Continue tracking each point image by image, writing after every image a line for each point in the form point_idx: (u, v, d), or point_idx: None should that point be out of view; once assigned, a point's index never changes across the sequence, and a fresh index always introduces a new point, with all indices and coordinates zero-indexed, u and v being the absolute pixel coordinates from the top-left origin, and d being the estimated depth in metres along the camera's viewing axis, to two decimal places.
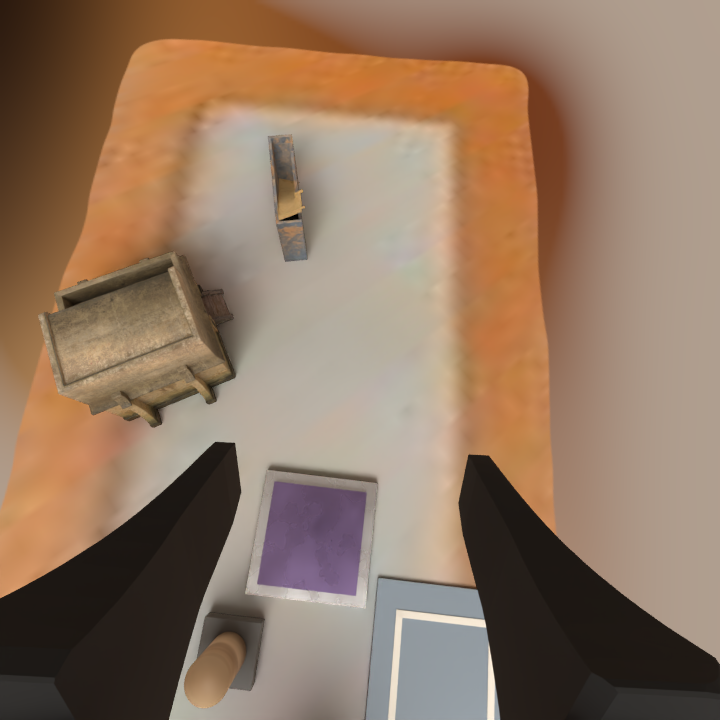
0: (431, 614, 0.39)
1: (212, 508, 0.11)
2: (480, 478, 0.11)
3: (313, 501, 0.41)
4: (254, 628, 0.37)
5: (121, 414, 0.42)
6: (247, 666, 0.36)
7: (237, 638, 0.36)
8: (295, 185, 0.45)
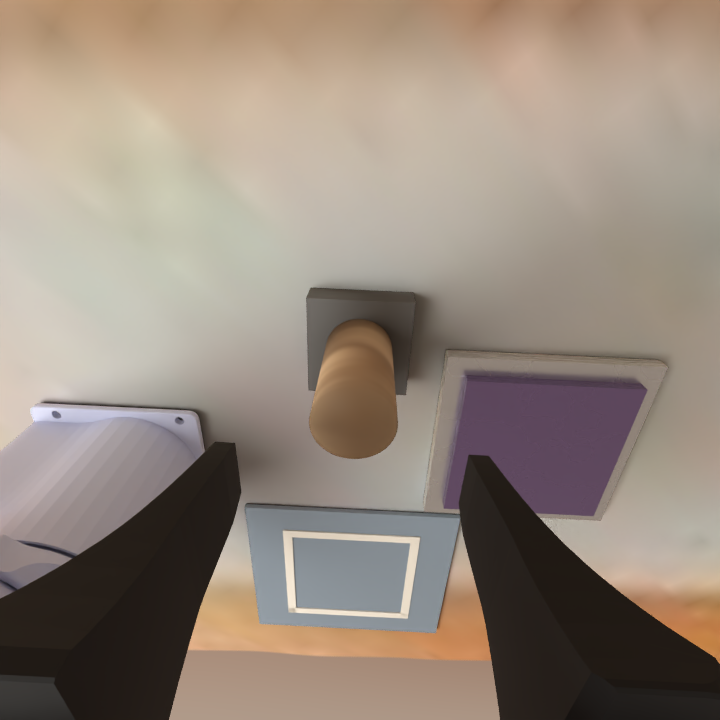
0: (414, 567, 0.30)
1: (212, 507, 0.11)
2: (480, 478, 0.11)
3: (596, 450, 0.23)
4: (398, 385, 0.22)
5: None
6: None
7: None
8: None
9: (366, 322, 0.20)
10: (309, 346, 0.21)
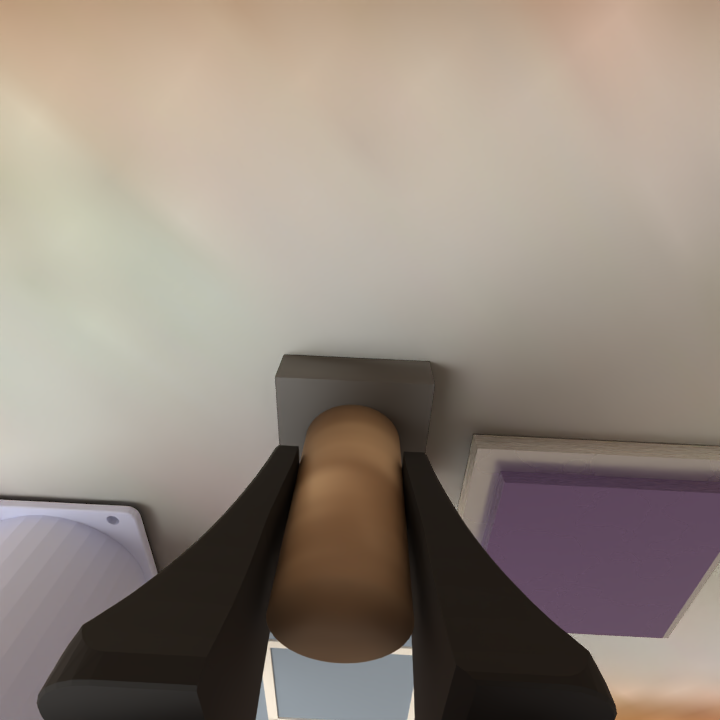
0: None
1: (284, 511, 0.11)
2: (408, 475, 0.11)
3: (674, 565, 0.17)
4: None
5: None
6: None
7: None
8: None
9: (362, 411, 0.13)
10: (282, 439, 0.14)
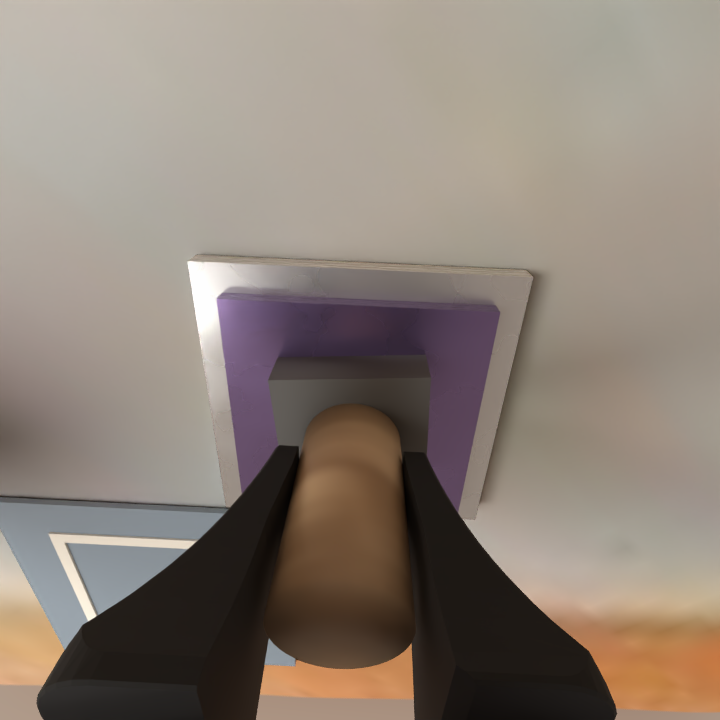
0: None
1: (284, 512, 0.11)
2: (408, 474, 0.11)
3: (440, 413, 0.15)
4: None
5: None
6: None
7: None
8: None
9: (359, 409, 0.13)
10: (280, 443, 0.14)
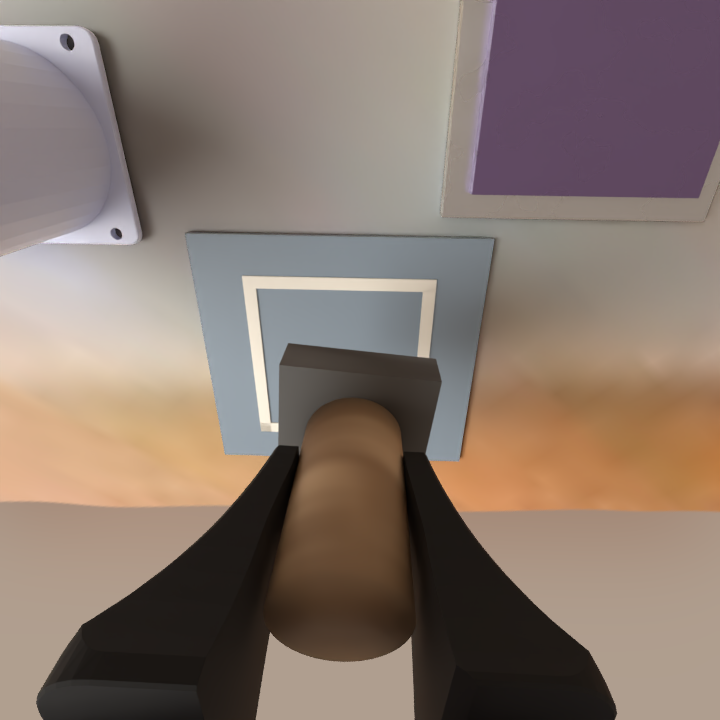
0: (429, 341, 0.22)
1: (284, 511, 0.11)
2: (408, 474, 0.11)
3: (715, 43, 0.15)
4: None
5: None
6: None
7: None
8: None
9: (367, 405, 0.13)
10: (281, 429, 0.14)
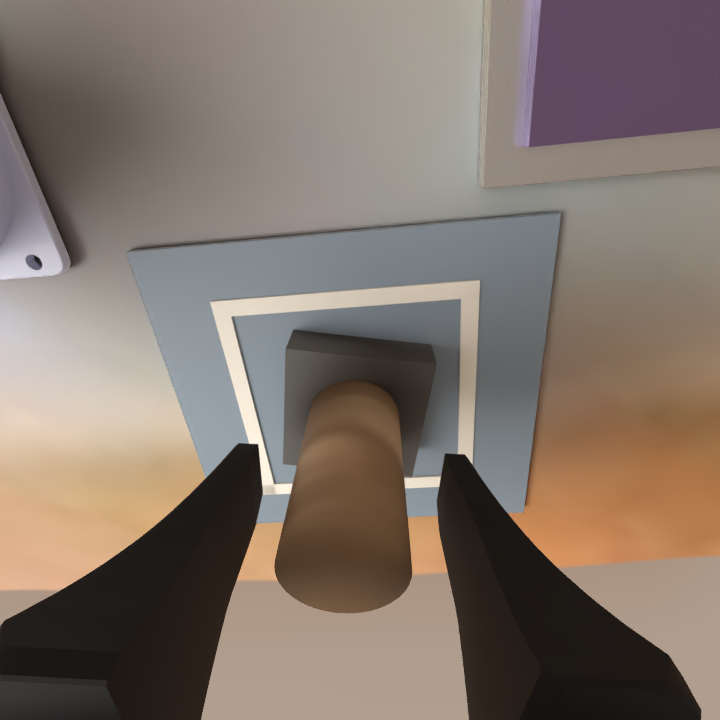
0: (474, 365, 0.16)
1: (239, 509, 0.11)
2: (454, 477, 0.11)
3: None
4: (402, 465, 0.16)
5: None
6: None
7: None
8: None
9: (367, 386, 0.14)
10: (286, 410, 0.15)
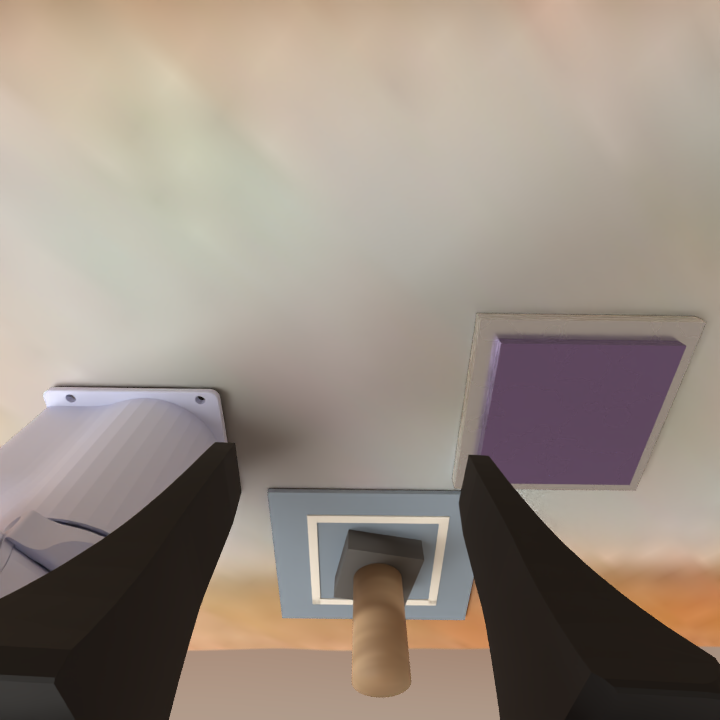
0: (443, 550, 0.29)
1: (212, 508, 0.11)
2: (480, 478, 0.11)
3: (633, 413, 0.23)
4: None
5: None
6: None
7: None
8: None
9: (387, 568, 0.27)
10: (342, 574, 0.28)
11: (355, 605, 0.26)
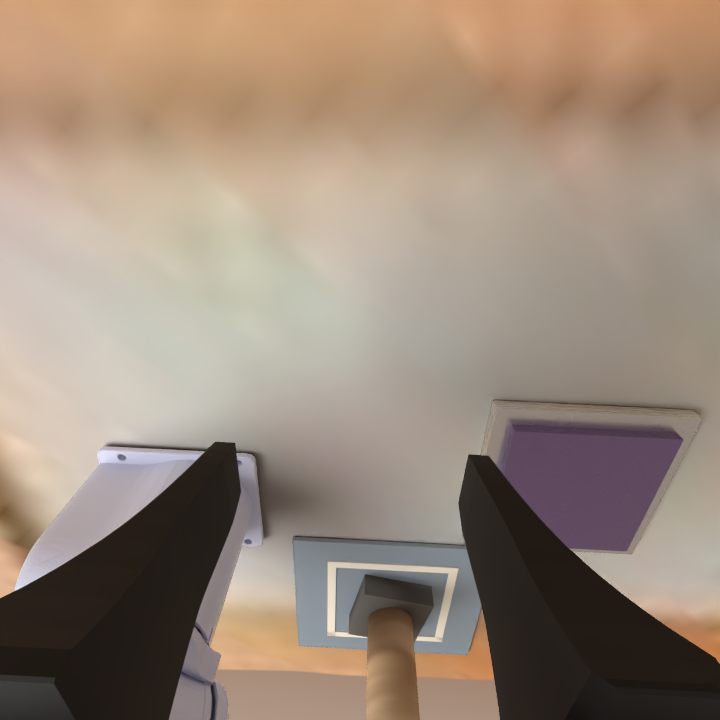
0: (450, 595, 0.32)
1: (212, 508, 0.11)
2: (480, 478, 0.11)
3: (632, 492, 0.25)
4: None
5: None
6: None
7: None
8: None
9: (400, 613, 0.30)
10: (357, 615, 0.30)
11: (370, 647, 0.28)
